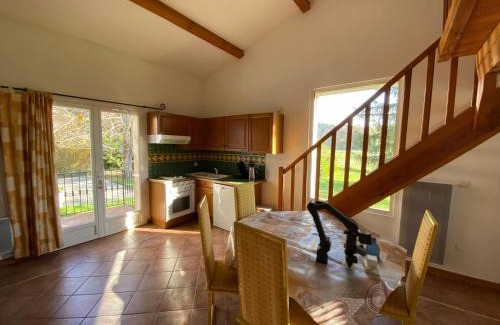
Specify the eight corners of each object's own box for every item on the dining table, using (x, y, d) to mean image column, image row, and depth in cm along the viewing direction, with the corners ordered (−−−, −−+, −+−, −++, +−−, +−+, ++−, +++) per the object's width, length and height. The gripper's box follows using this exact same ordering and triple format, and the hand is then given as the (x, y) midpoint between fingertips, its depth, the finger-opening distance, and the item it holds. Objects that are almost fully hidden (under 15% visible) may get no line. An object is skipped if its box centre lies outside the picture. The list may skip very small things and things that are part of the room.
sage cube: (345, 268, 127) (345, 261, 127) (344, 264, 132) (345, 257, 131) (353, 270, 126) (354, 263, 125) (352, 265, 130) (353, 259, 130)
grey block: (367, 265, 125) (367, 258, 124) (366, 260, 129) (366, 254, 129) (377, 267, 123) (377, 261, 122) (375, 262, 127) (376, 256, 127)
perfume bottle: (369, 256, 140) (370, 239, 139) (365, 251, 146) (367, 235, 145) (379, 257, 139) (380, 240, 138) (375, 252, 145) (376, 236, 144)
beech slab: (365, 272, 125) (365, 265, 124) (363, 265, 131) (363, 259, 131) (378, 275, 122) (379, 268, 122) (376, 268, 129) (376, 261, 128)
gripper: (369, 252, 115) (366, 278, 117) (363, 236, 133) (361, 260, 135) (346, 248, 119) (344, 273, 121) (344, 233, 136) (342, 256, 138)
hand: (349, 265), depth 129 cm, fingers closed on sage cube, 4 cm apart
